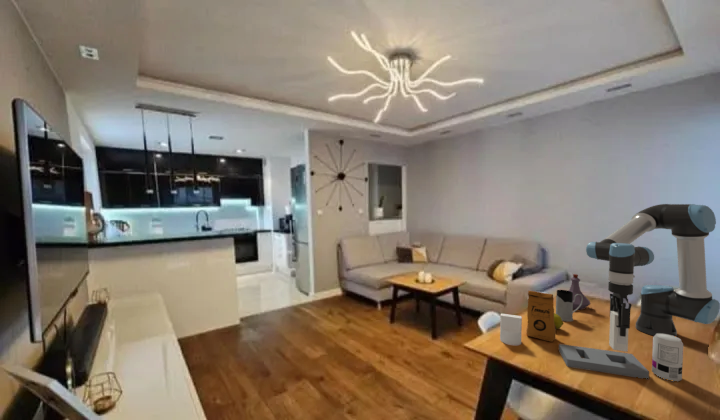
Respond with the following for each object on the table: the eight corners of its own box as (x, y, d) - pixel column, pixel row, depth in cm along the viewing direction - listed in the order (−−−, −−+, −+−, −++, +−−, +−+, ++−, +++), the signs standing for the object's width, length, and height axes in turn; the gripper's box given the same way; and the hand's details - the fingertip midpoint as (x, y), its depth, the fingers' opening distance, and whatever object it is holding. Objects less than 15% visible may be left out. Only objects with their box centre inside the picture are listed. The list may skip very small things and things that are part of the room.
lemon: (566, 329, 161) (566, 314, 161) (559, 333, 157) (559, 317, 156) (543, 322, 170) (543, 308, 170) (536, 326, 165) (537, 311, 165)
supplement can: (645, 370, 123) (647, 333, 123) (665, 369, 124) (666, 332, 123) (667, 383, 115) (669, 342, 115) (688, 381, 116) (690, 341, 115)
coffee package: (553, 345, 145) (555, 297, 144) (524, 337, 153) (524, 292, 152) (557, 337, 153) (558, 292, 152) (529, 330, 161) (529, 287, 160)
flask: (566, 311, 187) (567, 277, 186) (554, 301, 203) (554, 271, 202) (597, 312, 184) (598, 278, 184) (582, 303, 201) (583, 272, 200)
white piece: (520, 338, 151) (521, 314, 151) (521, 346, 143) (522, 320, 143) (500, 335, 155) (500, 311, 155) (499, 343, 147) (500, 317, 146)
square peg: (609, 344, 129) (610, 310, 128) (622, 346, 128) (623, 312, 127) (613, 349, 125) (614, 314, 124) (627, 351, 123) (628, 316, 123)
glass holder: (551, 315, 181) (552, 289, 180) (577, 315, 180) (577, 289, 179) (560, 321, 172) (561, 294, 171) (587, 321, 171) (588, 294, 171)
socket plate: (631, 360, 131) (631, 353, 131) (648, 379, 118) (649, 371, 117) (558, 350, 140) (558, 343, 140) (567, 366, 127) (567, 359, 127)
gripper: (643, 289, 116) (640, 352, 117) (622, 278, 132) (620, 333, 133) (618, 287, 118) (616, 349, 119) (601, 276, 135) (599, 330, 136)
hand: (618, 340), depth 126 cm, fingers closed on square peg, 4 cm apart
